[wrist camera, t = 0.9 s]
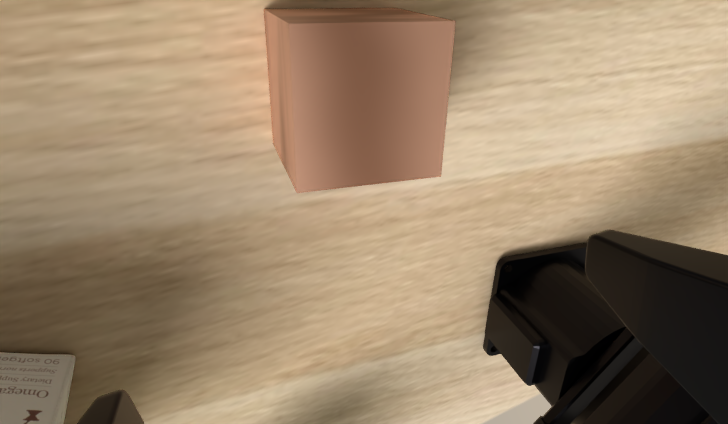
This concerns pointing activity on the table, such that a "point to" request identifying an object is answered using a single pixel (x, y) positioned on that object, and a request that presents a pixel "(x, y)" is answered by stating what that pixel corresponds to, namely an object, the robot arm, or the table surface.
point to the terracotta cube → (358, 94)
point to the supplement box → (34, 387)
